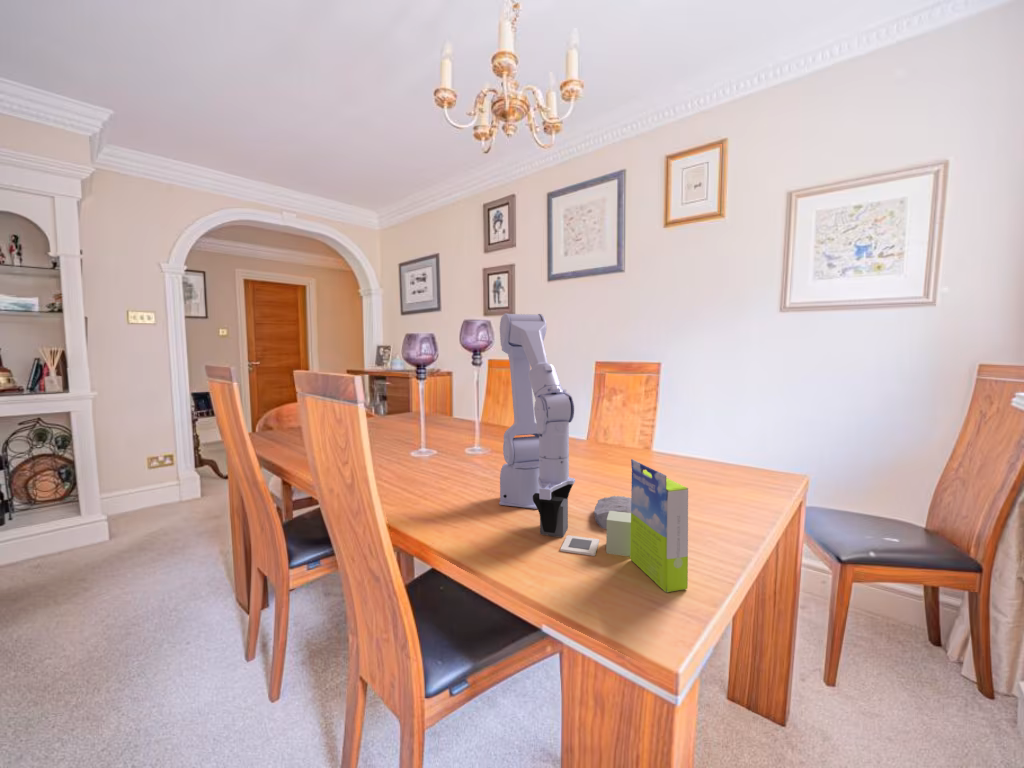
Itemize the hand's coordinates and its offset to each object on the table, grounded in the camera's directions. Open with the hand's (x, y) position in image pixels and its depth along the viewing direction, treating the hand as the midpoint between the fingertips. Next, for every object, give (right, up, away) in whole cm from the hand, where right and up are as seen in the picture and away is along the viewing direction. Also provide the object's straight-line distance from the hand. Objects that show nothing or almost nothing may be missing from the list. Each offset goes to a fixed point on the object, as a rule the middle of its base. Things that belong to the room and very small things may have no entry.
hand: (554, 524), depth 83 cm
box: (+14, -3, -16) cm, 22 cm away
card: (+4, -2, -7) cm, 8 cm away
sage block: (+11, -2, -8) cm, 14 cm away
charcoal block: (0, -2, 0) cm, 2 cm away
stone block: (+14, -1, +6) cm, 15 cm away
